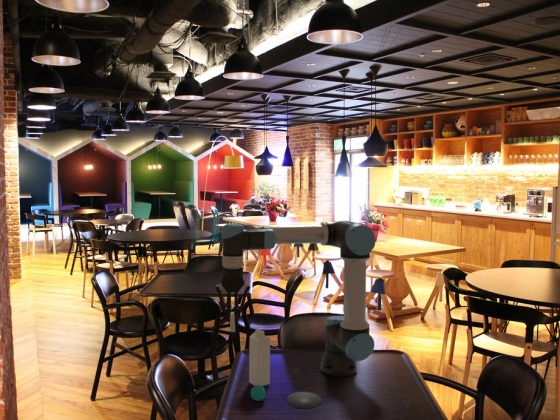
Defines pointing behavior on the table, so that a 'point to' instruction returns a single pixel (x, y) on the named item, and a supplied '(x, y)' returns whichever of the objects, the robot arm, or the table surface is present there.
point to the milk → (259, 359)
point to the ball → (258, 393)
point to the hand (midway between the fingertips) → (232, 330)
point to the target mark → (303, 400)
